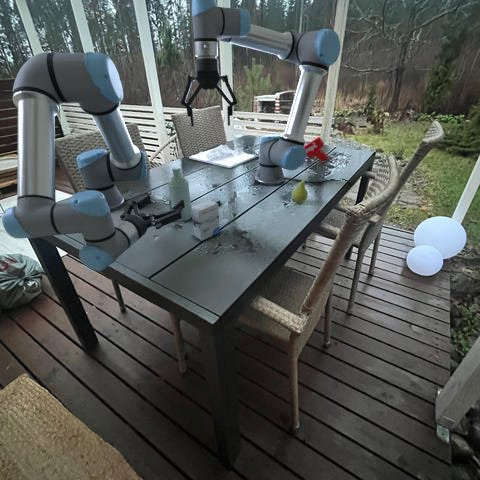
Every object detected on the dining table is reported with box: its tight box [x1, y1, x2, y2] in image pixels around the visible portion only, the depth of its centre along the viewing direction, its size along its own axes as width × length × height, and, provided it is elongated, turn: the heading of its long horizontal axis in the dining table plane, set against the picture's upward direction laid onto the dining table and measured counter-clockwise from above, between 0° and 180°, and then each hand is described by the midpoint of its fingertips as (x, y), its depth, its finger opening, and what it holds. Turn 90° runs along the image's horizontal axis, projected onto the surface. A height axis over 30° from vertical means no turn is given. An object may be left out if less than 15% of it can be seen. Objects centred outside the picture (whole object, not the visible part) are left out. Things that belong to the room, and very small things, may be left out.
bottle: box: [167, 166, 192, 222], centre depth 105 cm, size 8×8×20 cm
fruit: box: [291, 174, 311, 204], centre depth 118 cm, size 7×8×12 cm
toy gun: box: [304, 136, 329, 164], centre depth 170 cm, size 18×4×15 cm
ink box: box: [191, 199, 221, 241], centre depth 95 cm, size 8×5×12 cm, turn 134°
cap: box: [210, 197, 221, 207], centre depth 119 cm, size 4×4×2 cm
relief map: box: [188, 143, 257, 169], centre depth 179 cm, size 27×35×5 cm
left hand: (166, 200), depth 96 cm, fingers open, 13 cm apart
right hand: (210, 125), depth 102 cm, fingers open, 13 cm apart
